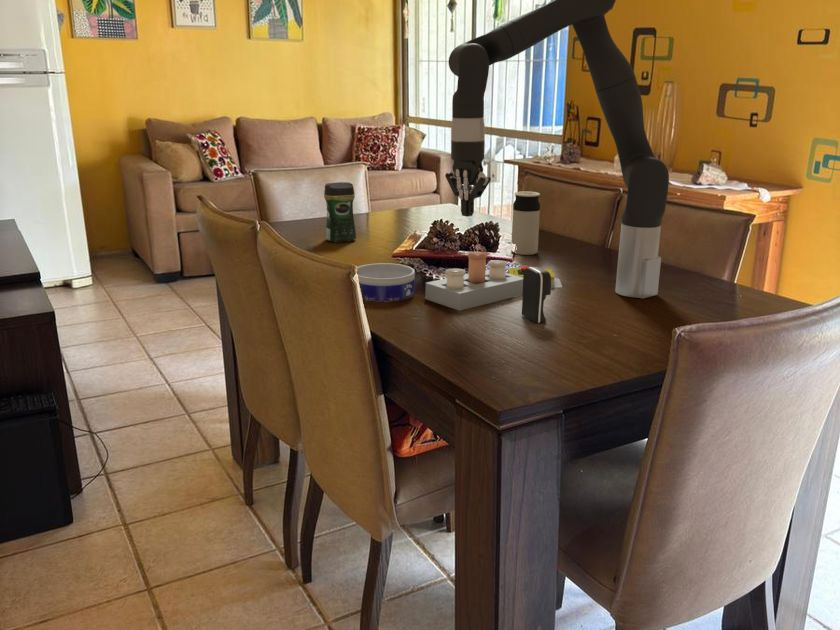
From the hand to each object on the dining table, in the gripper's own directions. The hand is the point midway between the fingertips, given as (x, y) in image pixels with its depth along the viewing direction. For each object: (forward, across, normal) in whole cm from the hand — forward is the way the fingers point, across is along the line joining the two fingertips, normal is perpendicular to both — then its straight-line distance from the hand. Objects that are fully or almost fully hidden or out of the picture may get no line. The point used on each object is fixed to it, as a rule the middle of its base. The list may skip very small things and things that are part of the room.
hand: (467, 215), depth 175 cm
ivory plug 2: (+20, +1, -11) cm, 23 cm away
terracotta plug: (+17, +1, -4) cm, 17 cm away
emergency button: (+21, +1, -25) cm, 33 cm away
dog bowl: (+20, +17, +12) cm, 29 cm away
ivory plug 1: (+20, +1, +3) cm, 20 cm away
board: (+20, +1, -4) cm, 21 cm away
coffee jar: (+20, +75, -16) cm, 80 cm away
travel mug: (+21, +26, -49) cm, 60 cm away
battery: (+21, -20, -2) cm, 29 cm away
